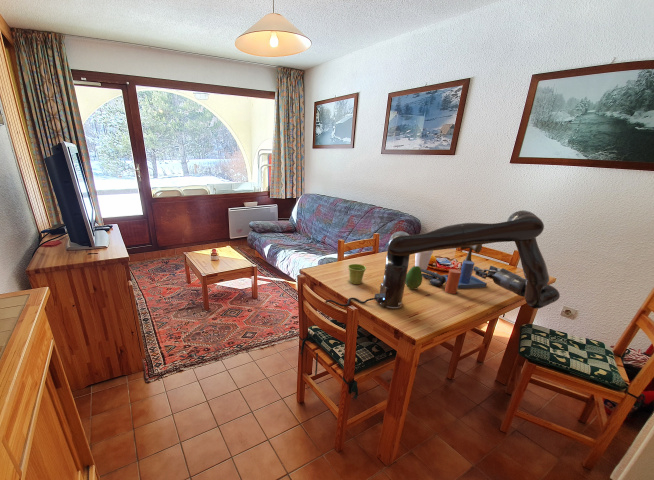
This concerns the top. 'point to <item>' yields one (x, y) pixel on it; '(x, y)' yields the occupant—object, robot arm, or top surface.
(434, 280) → the can opener
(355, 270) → the plant pot
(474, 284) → the blue tray
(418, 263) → the foam cup
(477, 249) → the kendama
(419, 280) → the fruit
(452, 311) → the top surface
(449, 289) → the terracotta tin
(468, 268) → the blue tin
